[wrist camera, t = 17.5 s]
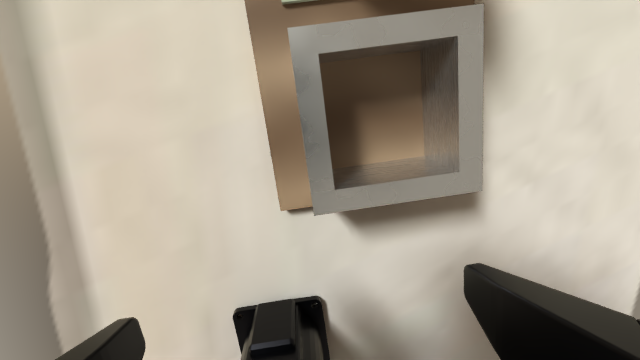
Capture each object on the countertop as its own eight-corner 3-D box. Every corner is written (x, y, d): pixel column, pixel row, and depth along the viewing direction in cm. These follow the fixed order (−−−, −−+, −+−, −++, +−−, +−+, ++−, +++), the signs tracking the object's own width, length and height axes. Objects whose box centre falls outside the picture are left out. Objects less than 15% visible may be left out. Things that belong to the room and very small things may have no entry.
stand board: (466, 178, 22) (477, 184, 21) (281, 205, 21) (280, 213, 20) (464, -230, 16) (479, -260, 15) (211, -206, 16) (203, -234, 14)
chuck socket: (443, 171, 21) (482, 191, 16) (310, 190, 20) (314, 215, 16) (439, 25, 18) (483, 3, 14) (289, 44, 18) (287, 27, 14)
